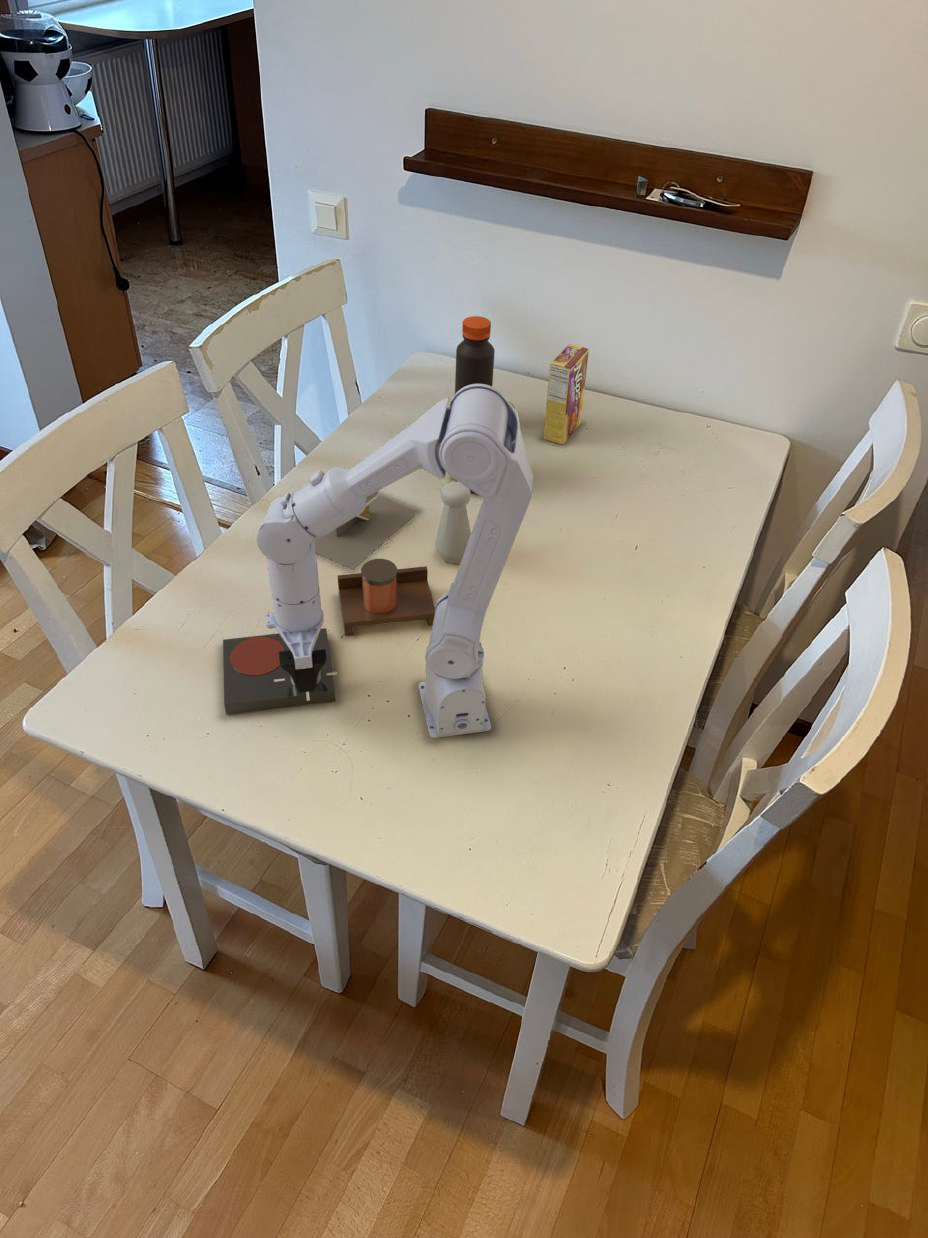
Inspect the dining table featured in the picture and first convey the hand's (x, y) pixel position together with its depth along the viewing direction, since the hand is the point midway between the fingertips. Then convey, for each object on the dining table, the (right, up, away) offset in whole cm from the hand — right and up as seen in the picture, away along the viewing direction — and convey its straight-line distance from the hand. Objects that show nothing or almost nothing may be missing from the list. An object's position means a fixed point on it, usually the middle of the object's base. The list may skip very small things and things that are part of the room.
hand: (304, 667), depth 118 cm
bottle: (+22, +43, +53) cm, 72 cm away
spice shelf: (+10, +7, +14) cm, 18 cm away
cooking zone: (-7, +1, +4) cm, 8 cm away
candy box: (+39, +41, +52) cm, 77 cm away
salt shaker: (+19, +16, +24) cm, 35 cm away
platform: (+3, +21, +29) cm, 36 cm away
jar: (+9, +9, +12) cm, 17 cm away
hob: (-4, -1, +4) cm, 6 cm away
